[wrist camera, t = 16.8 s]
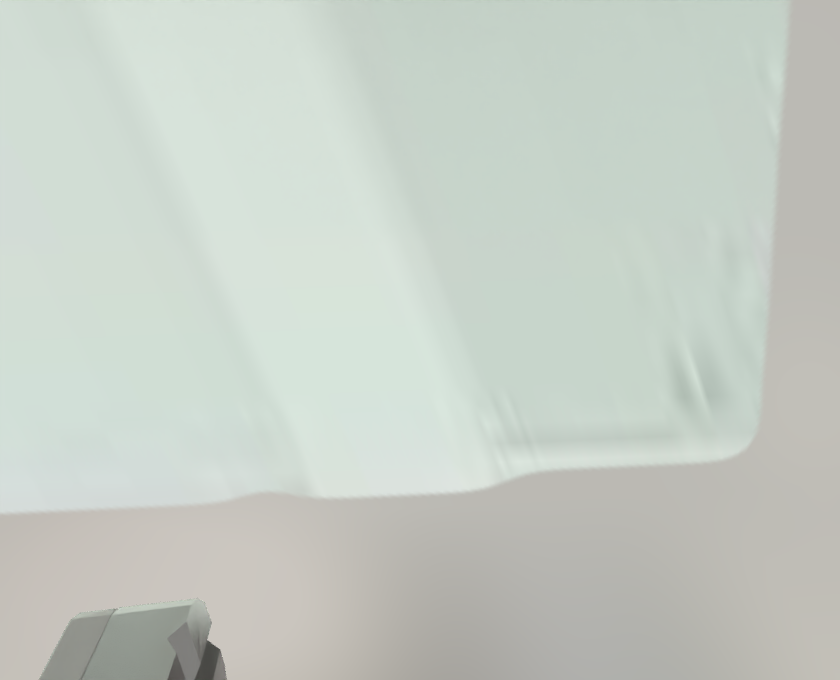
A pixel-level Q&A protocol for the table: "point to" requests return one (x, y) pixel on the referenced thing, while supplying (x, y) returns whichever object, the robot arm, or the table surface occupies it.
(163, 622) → the robot arm
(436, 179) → the table surface
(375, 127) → the table surface
